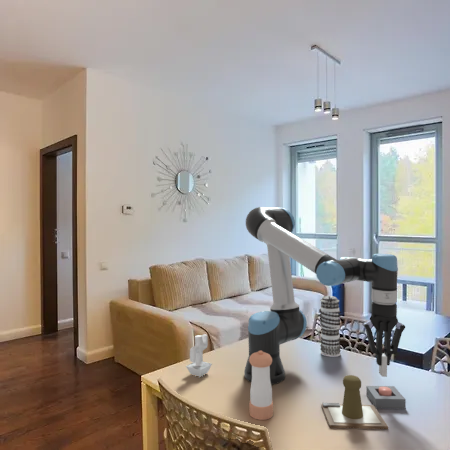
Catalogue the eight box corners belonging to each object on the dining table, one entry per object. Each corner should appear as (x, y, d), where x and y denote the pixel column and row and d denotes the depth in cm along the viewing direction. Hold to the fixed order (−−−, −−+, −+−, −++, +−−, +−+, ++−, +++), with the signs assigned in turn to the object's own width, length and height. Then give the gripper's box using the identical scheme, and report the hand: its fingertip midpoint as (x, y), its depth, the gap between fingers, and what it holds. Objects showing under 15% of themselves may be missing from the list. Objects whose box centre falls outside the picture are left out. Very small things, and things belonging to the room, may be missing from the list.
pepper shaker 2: (364, 420, 105) (364, 382, 105) (342, 418, 106) (342, 380, 106) (361, 409, 111) (361, 373, 111) (340, 407, 112) (340, 372, 112)
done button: (381, 399, 116) (381, 391, 116) (377, 393, 119) (377, 386, 119) (393, 399, 115) (393, 392, 115) (389, 394, 119) (388, 386, 119)
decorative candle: (329, 358, 155) (328, 299, 155) (315, 351, 163) (314, 296, 163) (346, 355, 158) (345, 297, 158) (331, 348, 167) (331, 294, 167)
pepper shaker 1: (271, 407, 115) (270, 346, 115) (275, 419, 108) (274, 354, 107) (248, 407, 115) (247, 347, 115) (250, 420, 107) (249, 355, 107)
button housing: (375, 408, 113) (375, 398, 113) (366, 394, 122) (366, 385, 122) (405, 408, 113) (405, 399, 113) (394, 395, 122) (394, 386, 122)
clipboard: (329, 427, 103) (329, 422, 103) (321, 406, 115) (321, 402, 115) (388, 429, 102) (388, 424, 102) (373, 407, 114) (373, 403, 114)
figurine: (184, 376, 139) (183, 337, 138) (199, 368, 147) (198, 331, 146) (199, 381, 135) (198, 340, 135) (213, 372, 143) (213, 333, 143)
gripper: (367, 304, 114) (365, 379, 114) (410, 305, 113) (408, 380, 114) (359, 299, 121) (358, 369, 122) (400, 299, 120) (398, 370, 121)
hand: (382, 374), depth 118 cm, fingers closed
